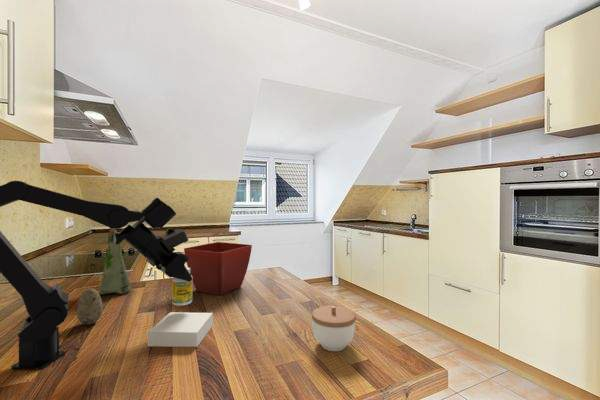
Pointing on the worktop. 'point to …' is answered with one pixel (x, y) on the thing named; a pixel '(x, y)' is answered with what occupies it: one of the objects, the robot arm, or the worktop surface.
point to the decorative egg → (89, 307)
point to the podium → (180, 329)
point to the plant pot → (218, 266)
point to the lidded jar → (333, 327)
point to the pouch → (114, 269)
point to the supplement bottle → (182, 291)
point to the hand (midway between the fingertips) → (187, 277)
